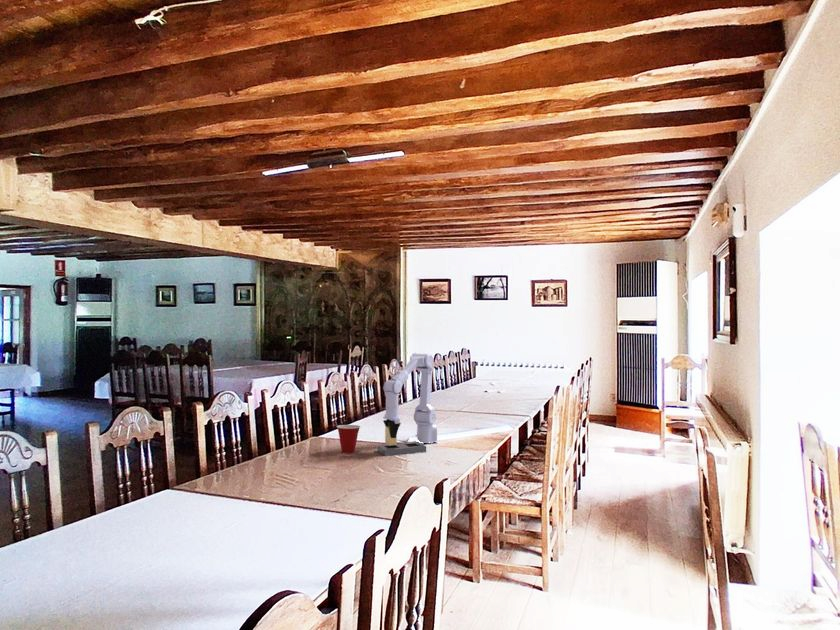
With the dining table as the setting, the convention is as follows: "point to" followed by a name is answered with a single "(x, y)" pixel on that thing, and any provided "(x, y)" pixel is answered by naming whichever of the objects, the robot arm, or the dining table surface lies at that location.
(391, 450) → the steel frame
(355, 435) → the plastic cup
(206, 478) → the dining table surface
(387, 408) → the robot arm
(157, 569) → the dining table surface
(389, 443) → the wooden peg
